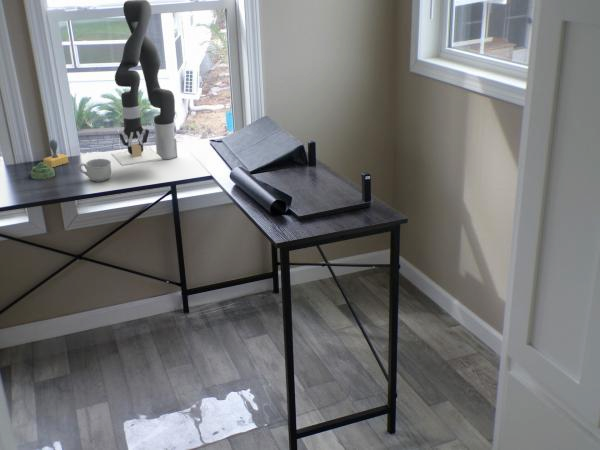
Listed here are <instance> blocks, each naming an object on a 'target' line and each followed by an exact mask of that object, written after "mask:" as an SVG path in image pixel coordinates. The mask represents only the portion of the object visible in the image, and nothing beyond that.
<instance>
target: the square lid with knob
mask: <svg viewBox="0 0 600 450" xmlns="http://www.w3.org/2000/svg"><path fill="white" fill-rule="evenodd" d="M131 147H132V154H130V153H129V152H128V149H127V150H121V151H116V152H115V151H114V152H110V154H111V157H113V158H114V159H115V160H116V161H117V162H118V164H119V165H120V166H121V167H125V166H127V167H128V166H132V165H138V164H144V163H149V162H150V163H151V162H155V161H162V160H163V159H162V158H161V157H160V156H159V155H158V154H157V151H155V150H154V149H153V148H151V147H150V146H147V147H143V151H142V153H141V145H140V144H139V142H135V143H131Z"/></svg>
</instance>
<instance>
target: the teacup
mask: <svg viewBox="0 0 600 450" xmlns="http://www.w3.org/2000/svg"><path fill="white" fill-rule="evenodd" d="M111 164H112V163H111V160H109V159H105V158H95V159H94V158H93V159H90V160H88V161H86V162H85V163H79V164H78V166H77V167H78V171H79V172H80V173H82V174H84V175H85V176H87V178H88V179H90V180H91V181H92V182H96V183H97V182H98V183H100V182H105V181H107V180H108V179H109V178H110V177H111V175H112V165H111ZM82 166H83V167H84V169H85V170H83V169H82Z"/></svg>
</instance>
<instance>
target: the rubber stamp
mask: <svg viewBox="0 0 600 450" xmlns="http://www.w3.org/2000/svg"><path fill="white" fill-rule="evenodd" d="M49 147H50V149H51V151H52V153H53V154H52V156H47V157H44V158H43V159H42V163H43V162H44V163H45V164H49V166H50V167H51V168H53V167H54V168H56V166H57V167H59V165H60V166H63V165H65V164H68V163H69V158H68V157H69V156H68V155H67V154H61V153H57V149H58V142H57V140H55V139H52V140H50V141H49ZM62 164H63V165H62Z"/></svg>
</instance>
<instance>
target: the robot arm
mask: <svg viewBox="0 0 600 450" xmlns="http://www.w3.org/2000/svg"><path fill="white" fill-rule="evenodd" d="M122 8H123V15H124V17H125V21H126V23H127V26H128V28H129V31H130V34H131V35H130V36H129V37H128V38H127V40H126V42H125V44H124V45H123V53H122V57H121V61H120V62H119V65H118V67H117V70H116V71H115V74H114V82H115V84H116V85H117V86H118V87H123V88H124V87H126V88H130V89H129V90H127V91H124V92H122V93H121V95H120V97H121V107H122V108H121V109H122V112H121V113H122V119H123V131H121V132H118V133H117V134H118V137H119V139H120V141H121V144H122V145H123V146H124V147H127V150H128V152H129V153H130V154H132V147H131V144H132V142H133V139H137V143H139V144H140V145H141V153H142V151H143V148H144V144H145V143H147V142H148V138H149V133H150V130H149V129H148V128H143V126H142V119H141V118H142V117H141V110H140V104H139V89H140V84H141V75H140V74H139V72H138V71H136V70H135V69H134V70H133V69H132V68H135V67H138V66H139V64H140V67H141V70H142V74H143V78H144V82H145V86H146V92H147V97H148V98H147V99H148V102H149V104H150V105H151V106H152V107H153V108H157V109H159V114H158V115H155V116H154V117H153V122H154V123H153V124H154V125H153V126H154V132H155V133H154V135H155V137H154V138H155V148H156V149H155V150H156V151H155V152H156V153H157V154H158V155H159V156H160V157H161V158H162V160H170V159H175V158H177V157H178V148H177V145H178V144H177V138H176V136H175V134H176V133H175V121H174V119H175V116H176V115H175V114H176V110H175V109H176V107H175V105H176V101H175V94H174V93H173V92H172V91H171V90H170V89H165V88H161V86H160V83H159V77H158V75H159V71H160V67H161V58H160V55H159V50H158V48H157V46H156V44H155V43H154V42H153V40H151V38H150V37H149V36H148V35H147V30H148V27H149V24H150V21H151V18H152V6H151V4H150V2H149V1H148V0H126V1H124V3H123V6H122ZM142 133H143V137H142V136H141V135H142ZM125 135H126V137H127V139H126V140H125V138H124V137H125ZM176 156H177V157H176ZM174 157H175V158H174Z"/></svg>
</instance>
